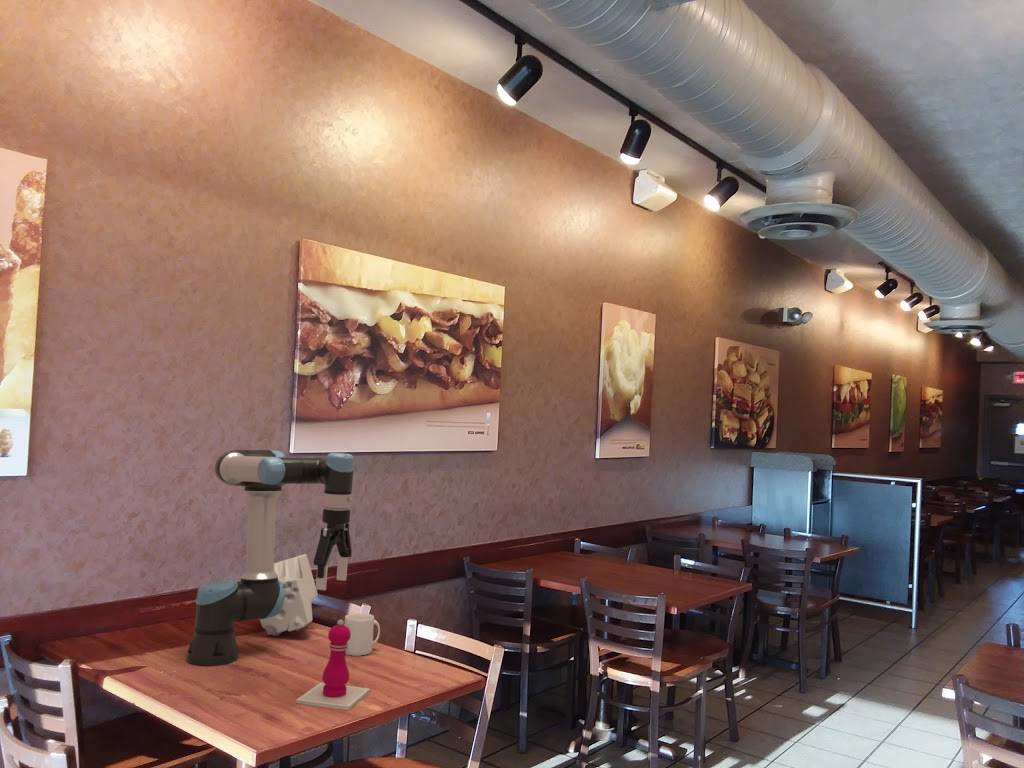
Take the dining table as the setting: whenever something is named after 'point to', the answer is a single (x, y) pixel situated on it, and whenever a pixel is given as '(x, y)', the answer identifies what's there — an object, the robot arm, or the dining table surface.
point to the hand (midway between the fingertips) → (331, 584)
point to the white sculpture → (293, 596)
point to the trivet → (333, 698)
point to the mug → (360, 633)
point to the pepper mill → (337, 662)
